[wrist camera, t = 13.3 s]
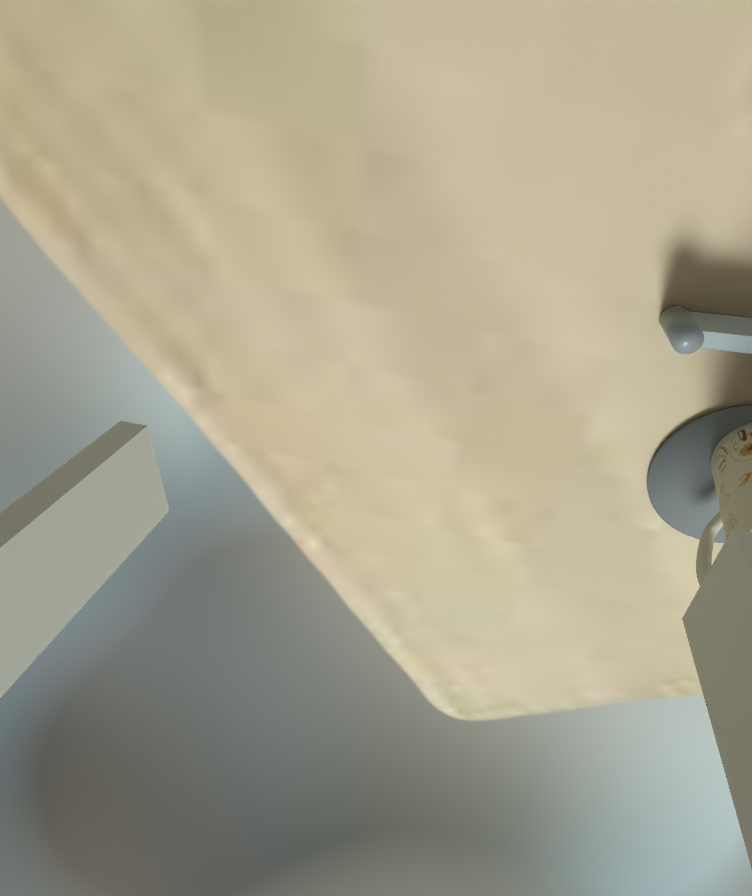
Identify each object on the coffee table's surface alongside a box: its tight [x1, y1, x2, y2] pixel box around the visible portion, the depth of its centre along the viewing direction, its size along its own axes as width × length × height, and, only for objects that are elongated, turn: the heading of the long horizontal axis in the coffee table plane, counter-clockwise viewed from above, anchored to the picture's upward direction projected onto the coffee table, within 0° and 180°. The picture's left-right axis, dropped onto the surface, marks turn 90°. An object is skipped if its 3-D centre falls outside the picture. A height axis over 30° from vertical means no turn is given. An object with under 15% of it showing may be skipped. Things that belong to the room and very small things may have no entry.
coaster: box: [647, 404, 752, 543], centre depth 37 cm, size 12×12×1 cm
